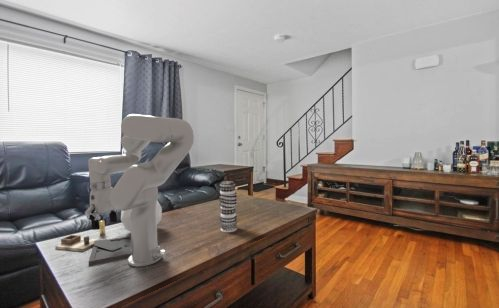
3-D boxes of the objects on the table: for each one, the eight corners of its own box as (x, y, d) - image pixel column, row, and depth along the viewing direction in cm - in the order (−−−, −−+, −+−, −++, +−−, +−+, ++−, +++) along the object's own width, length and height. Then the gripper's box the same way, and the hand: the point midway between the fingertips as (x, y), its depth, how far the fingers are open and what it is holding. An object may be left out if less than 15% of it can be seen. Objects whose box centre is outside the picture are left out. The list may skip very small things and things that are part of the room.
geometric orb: (144, 240, 136) (155, 205, 146) (162, 236, 123) (173, 198, 134) (108, 230, 125) (123, 193, 136) (123, 225, 112) (138, 184, 123)
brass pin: (106, 233, 128) (105, 220, 128) (102, 235, 126) (101, 221, 125) (102, 233, 129) (101, 220, 128) (98, 235, 126) (97, 221, 126)
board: (101, 242, 118) (100, 233, 118) (82, 251, 108) (82, 242, 108) (75, 239, 121) (75, 231, 121) (55, 248, 111) (54, 239, 111)
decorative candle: (237, 232, 126) (235, 183, 125) (218, 232, 127) (217, 183, 125) (238, 226, 136) (237, 180, 134) (221, 226, 136) (219, 180, 134)
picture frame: (94, 245, 115) (88, 265, 96) (94, 240, 115) (88, 260, 96) (133, 238, 122) (134, 256, 103) (133, 234, 122) (134, 251, 103)
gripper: (91, 189, 98) (96, 232, 99) (123, 182, 115) (126, 219, 116) (75, 190, 100) (80, 232, 100) (109, 182, 117) (112, 219, 117)
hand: (105, 225), depth 108 cm, fingers open, 9 cm apart
